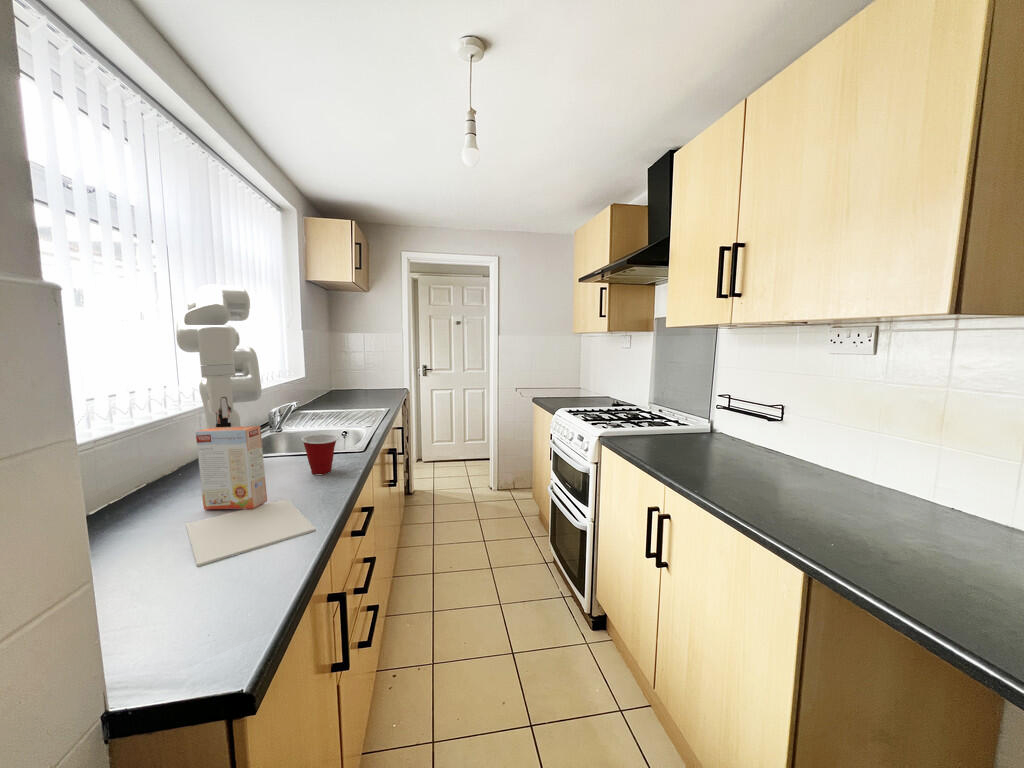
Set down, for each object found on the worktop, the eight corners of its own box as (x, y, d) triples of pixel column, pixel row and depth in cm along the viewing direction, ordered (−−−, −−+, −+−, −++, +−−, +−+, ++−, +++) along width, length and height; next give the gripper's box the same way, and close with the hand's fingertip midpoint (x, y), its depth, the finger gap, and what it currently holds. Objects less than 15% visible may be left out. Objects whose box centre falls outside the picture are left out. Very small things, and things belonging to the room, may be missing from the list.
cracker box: (268, 501, 113) (261, 425, 111) (252, 510, 107) (245, 429, 105) (221, 501, 114) (213, 426, 112) (202, 510, 108) (194, 430, 106)
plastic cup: (330, 478, 132) (328, 441, 130) (297, 478, 132) (294, 441, 131) (345, 467, 142) (343, 433, 141) (314, 467, 143) (312, 433, 141)
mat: (185, 525, 99) (185, 524, 99) (287, 500, 114) (287, 498, 114) (197, 566, 82) (197, 564, 82) (315, 530, 96) (315, 528, 96)
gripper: (198, 370, 116) (204, 434, 118) (204, 373, 105) (211, 444, 107) (230, 368, 121) (235, 430, 123) (239, 371, 110) (245, 439, 112)
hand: (224, 437), depth 115 cm, fingers closed
